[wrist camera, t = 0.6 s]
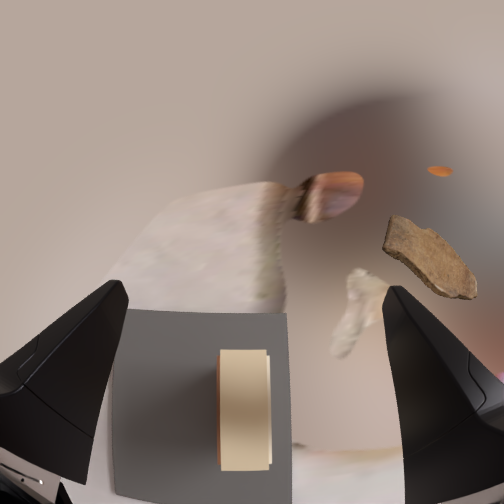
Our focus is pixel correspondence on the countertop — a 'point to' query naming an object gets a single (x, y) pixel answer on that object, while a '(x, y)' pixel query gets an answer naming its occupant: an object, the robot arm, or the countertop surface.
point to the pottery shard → (429, 259)
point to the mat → (192, 408)
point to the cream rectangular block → (244, 410)
